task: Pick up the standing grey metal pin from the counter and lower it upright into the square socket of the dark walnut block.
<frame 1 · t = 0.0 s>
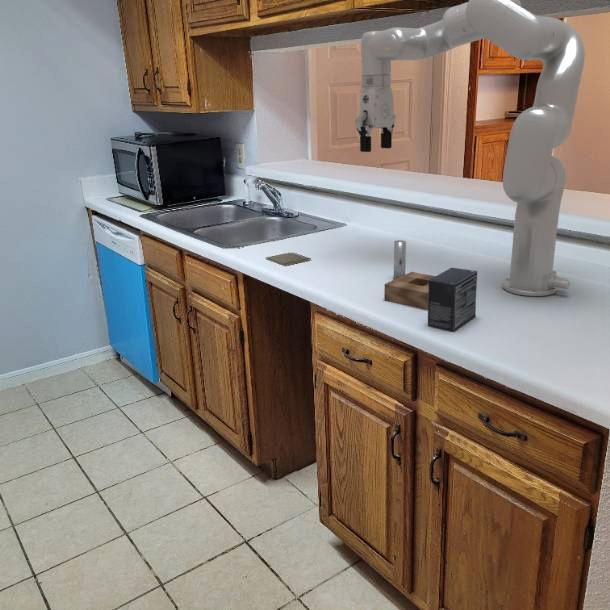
hand: (376, 149, 164), 31 cm above the worktop, fingers open, 9 cm apart
socket block: (419, 298, 143), on the worktop
small box: (451, 322, 129), on the worktop
pin: (399, 279, 157), on the worktop
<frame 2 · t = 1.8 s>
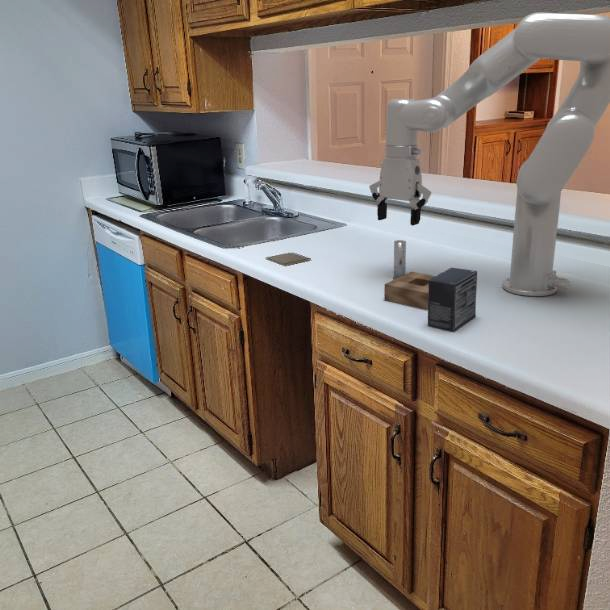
hand: (398, 221, 153), 15 cm above the worktop, fingers open, 9 cm apart
nothing on the worktop moved.
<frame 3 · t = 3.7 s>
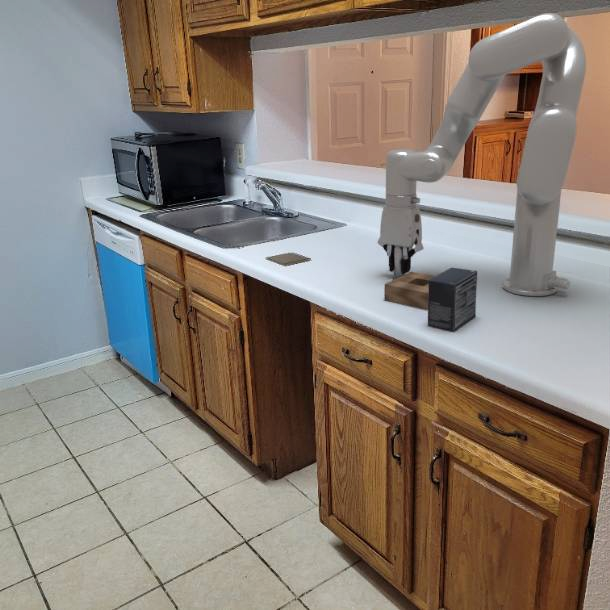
hand: (399, 270, 157), 2 cm above the worktop, fingers closed on pin, 3 cm apart
pin: (399, 279, 157), on the worktop, touching gripper
everything else where it was.
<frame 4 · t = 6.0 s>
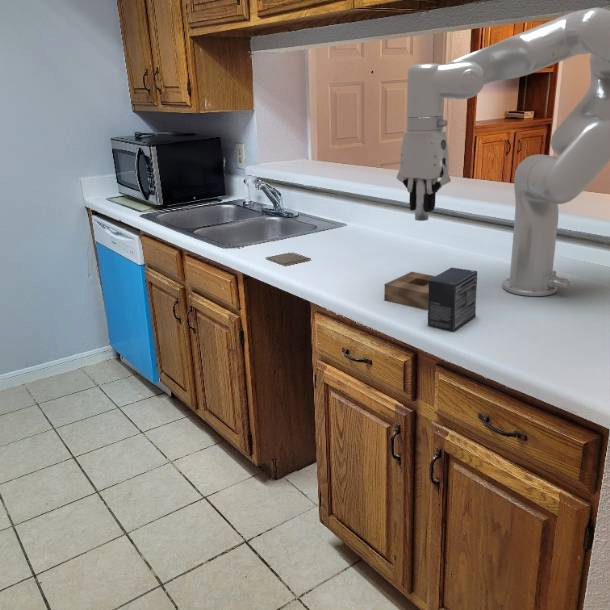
hand: (422, 209, 136), 21 cm above the worktop, fingers closed on pin, 3 cm apart
pin: (421, 219, 137), point 19 cm above the worktop, touching gripper
everything else where it was.
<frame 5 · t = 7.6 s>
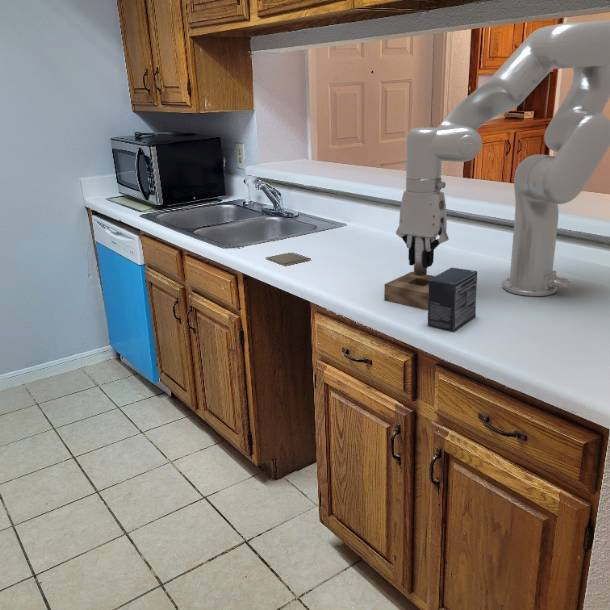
hand: (420, 264, 140), 8 cm above the worktop, fingers closed on pin, 3 cm apart
pin: (420, 273, 141), point 6 cm above the worktop, touching gripper
everything else where it was.
when the fingers open (5 cm above the worktop, at t = 8.6 s): pin drops 2 cm, resting in socket block.
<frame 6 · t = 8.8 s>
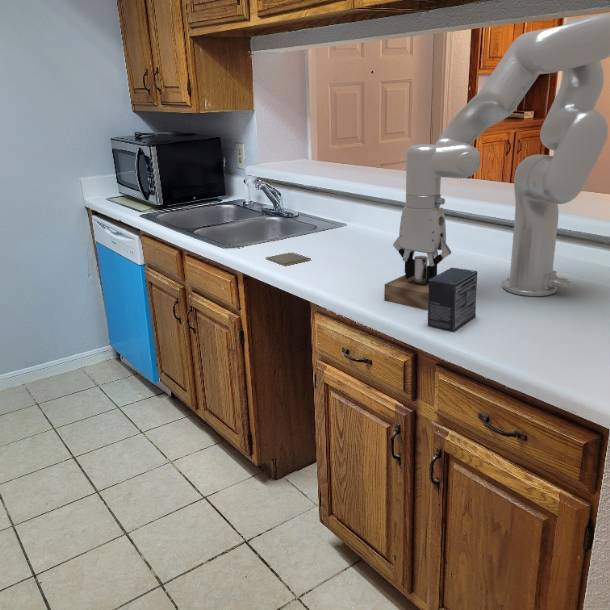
hand: (420, 278, 141), 5 cm above the worktop, fingers open, 4 cm apart
pin: (419, 298, 143), resting in socket block
everything else where it was.
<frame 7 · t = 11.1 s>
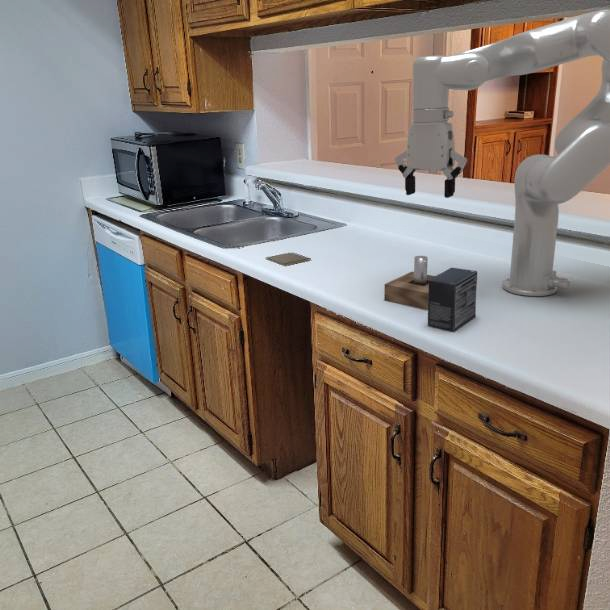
hand: (429, 195, 137), 24 cm above the worktop, fingers open, 9 cm apart
nothing on the worktop moved.
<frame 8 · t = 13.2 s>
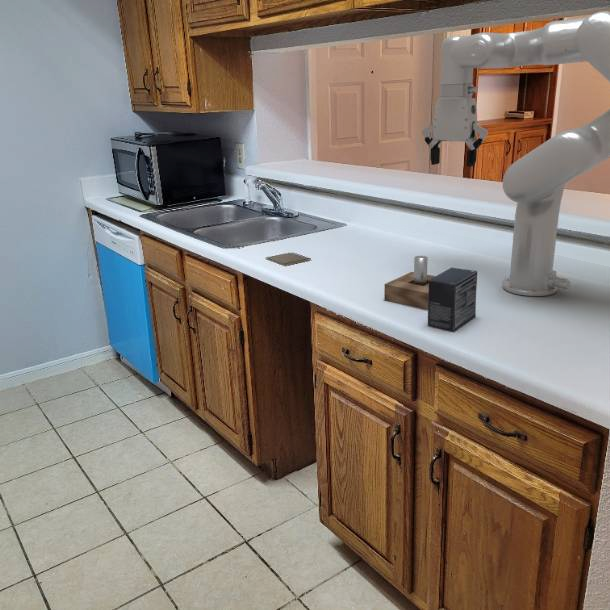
hand: (452, 165, 151), 28 cm above the worktop, fingers open, 9 cm apart
nothing on the worktop moved.
at the end: pin 0.0 cm off-centre on the socket block, point 0.0 cm above the socket block's base; pin tilted 0°; the gripper is holding nothing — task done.
